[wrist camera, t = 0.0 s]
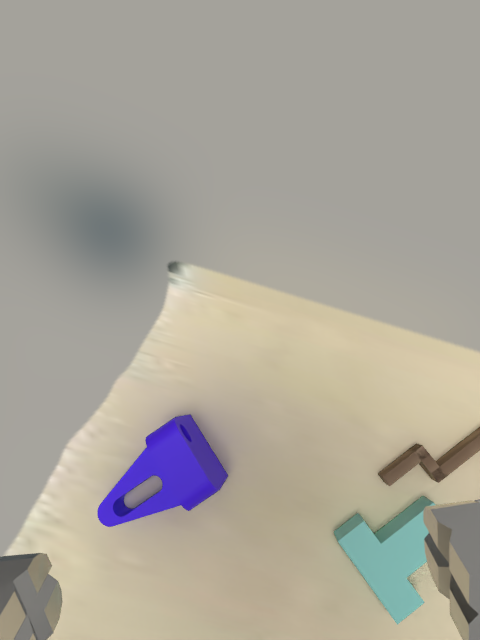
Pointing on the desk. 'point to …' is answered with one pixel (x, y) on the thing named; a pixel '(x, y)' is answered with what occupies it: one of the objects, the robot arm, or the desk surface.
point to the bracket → (168, 473)
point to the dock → (432, 460)
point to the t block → (389, 556)
